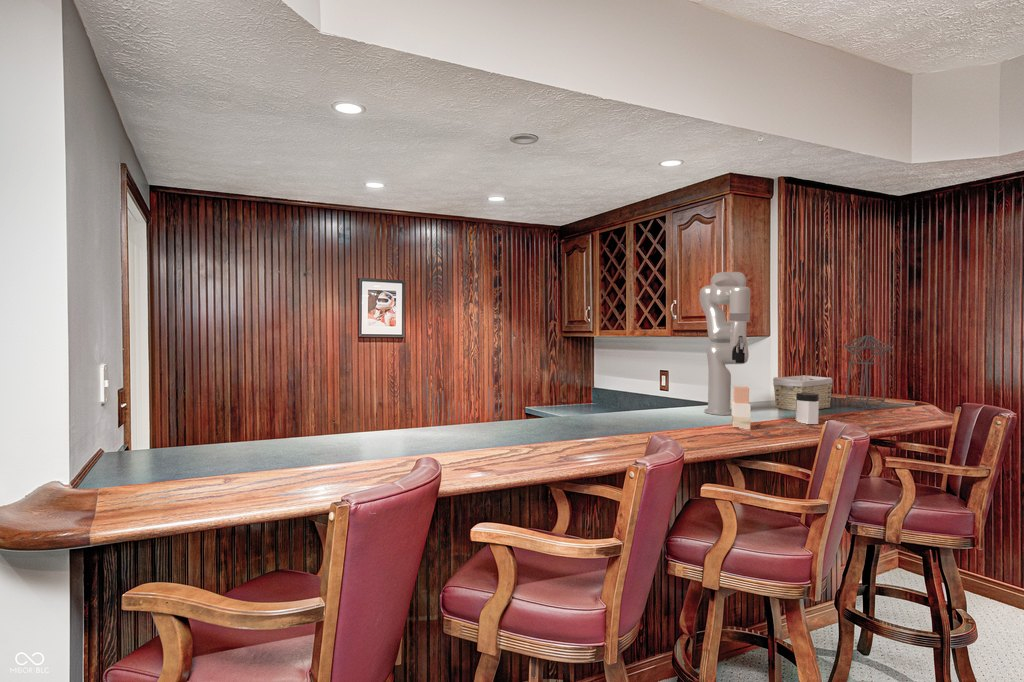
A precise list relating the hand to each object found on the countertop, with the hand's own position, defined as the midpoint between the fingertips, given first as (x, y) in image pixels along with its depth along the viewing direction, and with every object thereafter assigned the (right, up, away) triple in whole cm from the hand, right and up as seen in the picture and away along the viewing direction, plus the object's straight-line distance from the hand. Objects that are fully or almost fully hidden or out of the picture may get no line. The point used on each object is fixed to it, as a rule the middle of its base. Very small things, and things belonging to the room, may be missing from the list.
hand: (738, 361), depth 228 cm
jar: (+31, -26, +8) cm, 41 cm away
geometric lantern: (+80, -24, +47) cm, 96 cm away
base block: (-1, -26, -4) cm, 26 cm away
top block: (-1, -16, -5) cm, 16 cm away
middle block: (-1, -21, -4) cm, 21 cm away
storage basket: (+49, -24, +48) cm, 73 cm away
